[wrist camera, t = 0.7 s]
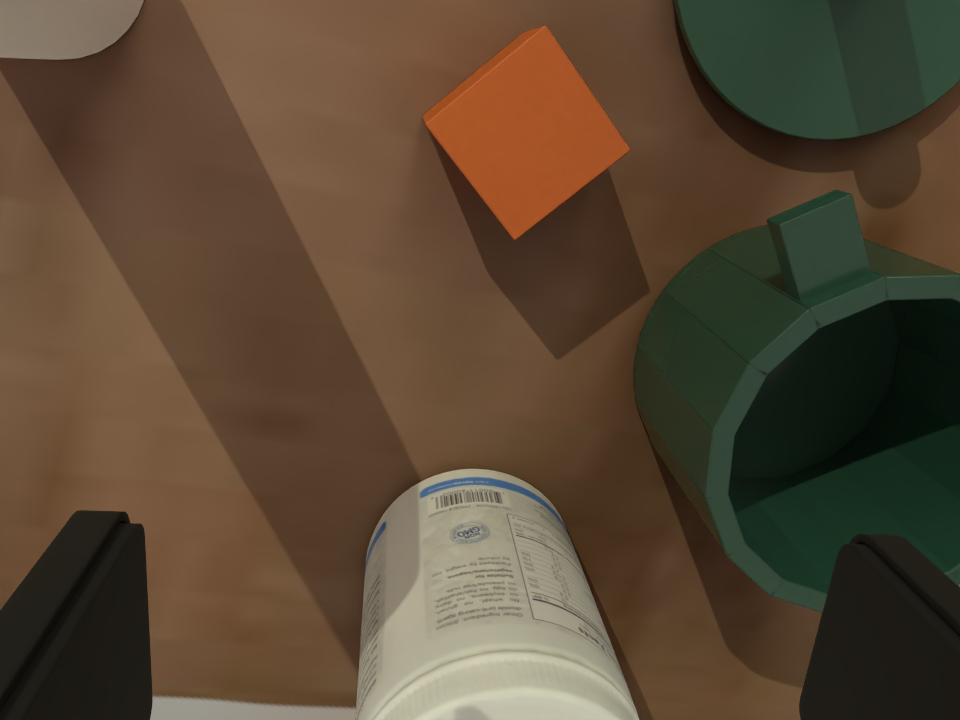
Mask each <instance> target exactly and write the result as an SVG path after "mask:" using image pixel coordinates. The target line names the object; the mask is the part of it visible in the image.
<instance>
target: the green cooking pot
mask: <svg viewBox="0 0 960 720" xmlns="http://www.w3.org/2000/svg"><path fill="white" fill-rule="evenodd" d="M767 223H768V225H766V226H761V227H757V228H752V229H749V230H746V231H743V232H741V233H738V234H735V235H732V236H730V237H728V238H726V239H724V240H722V241H720V242H718V243H716V244H714V245H713V246H711V247H710V248H708V249H707V250H705V251H704V252H702V253H701V254H699V255H698V256H697V257H695V258H694V259H693V260H692V261H691V262H689V263H688V264H687V265H686V266H685V267H684V268H682V269H681V271H680V272H679V273H678V274H677V275H676V276H675V277H674V278H673V279H672V280H671V281H670V282H669V283H668V285H667V286H666V288H665V289H664V290H663V292H662V293H661V294H660V296H659V297H658V298H657V300H656V302H655V304H654V306H653V307H652V309H651V311H650V313H649V314H648V316H647V319H646V321H645V324H644V326H643V329H642V331H641V334H640V338H639V341H638V345H637V349H636V354H635V362H634V391H635V399H636V404H637V407H638V410H639V414H640V417H641V420H642V422H643V424H644V426H645V428H646V430H647V432H648V434H649V437H650V440H651V442H652V445H653V446H654V448H655V449H656V451H657V452H658V454H659V455H660V457H661V458H662V460H663V461H664V463H665V464H666V466H667V467H668V469H669V470H670V472H671V473H672V475H673V476H674V478H675V479H676V481H677V482H678V484H679V485H680V487H681V488H682V490H683V491H684V493H685V494H686V496H687V497H688V499H689V500H690V502H691V503H692V505H693V506H694V508H695V509H696V511H697V512H698V514H699V515H700V517H701V518H702V520H703V521H704V523H705V524H706V526H707V527H708V529H709V530H710V532H711V533H712V535H713V536H714V538H715V539H716V541H717V542H718V544H719V545H720V547H721V549H722V550H723V552H724V553H725V555H726V556H727V557H728V558H729V559H730V560H731V561H732V562H733V563H734V564H735V565H736V566H737V567H738V568H740V569H741V570H742V571H743V572H744V573H745V574H746V575H747V576H748V577H749V578H750V579H751V580H752V581H754V582H755V583H756V584H757V585H758V586H759V587H760V588H761V589H762V590H763V591H764V592H765V593H766V594H768V595H770V596H771V597H774V598H777V599H780V600H784V601H787V602H790V603H793V604H796V605H799V606H802V607H805V608H809V609H812V610H815V611H818V612H821V613H823V609H824V605H825V601H826V597H827V593H828V590H829V586H830V582H831V578H832V574H833V570H834V566H835V563H836V559H837V555H838V552H839V550H840V548H841V547H842V546H843V545H845V544H849V543H850V541H851V540H852V538H853V537H854V536H856V535H858V534H877V535H899V536H902V537H903V538H905V539H907V540H908V541H909V542H910V543H911V544H912V545H913V546H914V547H915V548H917V549H918V550H919V551H920V552H921V553H922V554H923V555H924V556H925V557H927V558H928V559H929V560H930V561H931V562H932V563H933V564H934V565H935V566H937V567H938V568H939V569H940V570H941V571H942V572H943V573H944V574H945V575H947V576H948V577H949V578H950V579H951V580H952V581H953V582H954V583H955V584H957V585H958V586H959V584H960V274H958V273H956V272H953V271H950V270H947V269H945V268H942V267H939V266H936V265H934V264H931V263H928V262H925V261H923V260H920V259H917V258H915V257H912V256H909V255H906V254H904V253H901V252H898V251H895V250H893V249H890V248H887V247H884V246H882V245H879V244H876V243H873V242H871V241H868V240H865V239H863V237H862V233H861V229H860V225H859V221H858V217H857V213H856V209H855V205H854V201H853V197H852V194H850V193H846V192H842V191H839V190H834V191H832V192H830V193H827V194H825V195H823V196H820V197H818V198H816V199H813V200H811V201H809V202H806V203H804V204H801V205H799V206H797V207H794V208H792V209H790V210H787V211H785V212H783V213H780V214H778V215H776V216H773V217H771V218H769V219H767Z"/></svg>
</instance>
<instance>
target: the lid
mask: <svg viewBox="0 0 960 720" xmlns="http://www.w3.org/2000/svg"><path fill="white" fill-rule="evenodd" d="M674 5H675V9H676V14H677V18H678V22H679V26H680V29H681V32H682V34H683V37H684V40H685V42H686V45H687V48H688V50H689V52H690V54H691V56H692V57H693V59H694V61H695V63H696V65H697V67H698V69H699V70H700V72H701V73H702V74H703V76H704V77H705V79H706V80H707V81H708V83H709V84H710V85H711V87H712V88H713V89H714V90H715V91H716V92H717V93H718V94H719V95H720V96H721V97H722V98H723V99H724V100H725V101H726V103H728V104H729V105H730V106H731V107H733V108H734V109H735V110H737V111H738V112H739V113H741V114H742V115H743V116H745V117H746V118H748V119H750V120H752V121H754V122H755V123H757V124H759V125H761V126H763V127H765V128H768V129H771V130H773V131H776V132H779V133H782V134H786V135H790V136H795V137H800V138H805V139H818V140H837V139H849V138H855V137H859V136H864V135H868V134H873V133H876V132H878V131H881V130H884V129H887V128H890V127H892V126H895V125H897V124H899V123H901V122H903V121H905V120H907V119H909V118H911V117H913V116H915V115H916V114H918V113H919V112H921V111H922V110H924V109H925V108H927V107H928V106H930V105H931V104H933V103H934V102H936V101H937V100H938V99H939V98H940V97H942V96H943V95H944V94H945V93H946V92H948V91H949V90H950V89H951V88H952V87H954V86H955V85H956V84H957V83H958V82H959V81H960V0H674Z"/></svg>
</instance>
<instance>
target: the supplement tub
mask: <svg viewBox="0 0 960 720" xmlns="http://www.w3.org/2000/svg"><path fill="white" fill-rule="evenodd" d="M355 720H639V717H638V714H637V711H636V708H635V706H634V703H633V700H632V698H631V695H630V692H629V689H628V686H627V683H626V681H625V679H624V676H623V674H622V671H621V668H620V666H619V663H618V660H617V658H616V655H615V652H614V650H613V647H612V645H611V642H610V639H609V637H608V634H607V632H606V629H605V627H604V624H603V621H602V619H601V616H600V614H599V611H598V608H597V606H596V603H595V600H594V598H593V595H592V593H591V590H590V587H589V585H588V582H587V580H586V577H585V575H584V572H583V570H582V567H581V565H580V562H579V559H578V557H577V554H576V552H575V549H574V547H573V544H572V542H571V539H570V537H569V534H568V532H567V530H566V527H565V524H564V522H563V520H562V518H561V516H560V515H559V513H558V511H557V510H556V508H555V507H554V506H553V504H552V503H551V502H550V501H549V500H548V499H547V498H546V497H545V496H544V495H543V494H542V493H541V492H540V491H538V490H537V489H536V488H534V487H533V486H531V485H530V484H528V483H526V482H525V481H523V480H521V479H518V478H516V477H514V476H512V475H509V474H505V473H502V472H497V471H493V470H485V469H461V470H454V471H449V472H445V473H441V474H438V475H435V476H432V477H430V478H427V479H425V480H423V481H421V482H419V483H418V484H416V485H414V486H413V487H411V488H410V489H408V490H407V491H405V492H404V493H403V494H402V495H400V496H399V497H398V498H397V499H396V500H395V501H394V502H393V503H392V504H391V505H390V506H389V508H388V509H387V510H386V511H385V513H384V514H383V516H382V517H381V519H380V520H379V522H378V524H377V526H376V528H375V530H374V533H373V535H372V537H371V540H370V543H369V547H368V550H367V556H366V565H365V578H364V594H363V614H362V627H361V643H360V659H359V674H358V689H357V704H356V719H355Z"/></svg>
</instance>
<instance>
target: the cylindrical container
mask: <svg viewBox="0 0 960 720" xmlns="http://www.w3.org/2000/svg"><path fill="white" fill-rule="evenodd" d="M143 2H144V0H0V58H24V59H50V60H63V59H76V58H82V57H85V56H88V55H91V54H94V53H98V52H100V51H101V50H103V49H105V48H106V47H108V46H110V45H111V44H113V43H115V42H116V41H117V40H118V39H119V38H120V37H121V36H122V35H123V34H124V33H125V32H126V31H127V30H128V29H129V28H130V26H131V25H132V23H133V22H134V20H135V19H136V17H137V16H138V14H139V12H140V9H141V7H142V4H143Z"/></svg>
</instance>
